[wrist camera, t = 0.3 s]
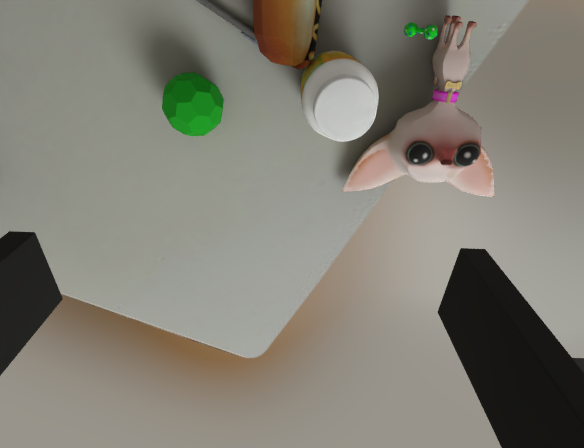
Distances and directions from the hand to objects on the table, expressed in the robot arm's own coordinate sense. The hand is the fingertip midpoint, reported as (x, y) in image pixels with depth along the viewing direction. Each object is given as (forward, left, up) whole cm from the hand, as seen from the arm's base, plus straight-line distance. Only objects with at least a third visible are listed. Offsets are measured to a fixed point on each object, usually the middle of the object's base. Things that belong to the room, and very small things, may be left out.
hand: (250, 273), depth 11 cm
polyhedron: (+5, -5, -24) cm, 25 cm away
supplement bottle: (-5, +2, -24) cm, 24 cm away
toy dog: (-15, +4, -19) cm, 24 cm away
